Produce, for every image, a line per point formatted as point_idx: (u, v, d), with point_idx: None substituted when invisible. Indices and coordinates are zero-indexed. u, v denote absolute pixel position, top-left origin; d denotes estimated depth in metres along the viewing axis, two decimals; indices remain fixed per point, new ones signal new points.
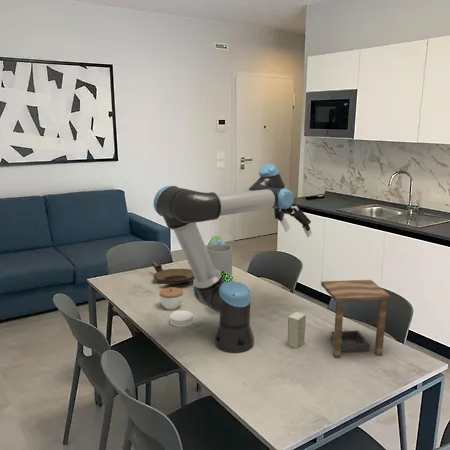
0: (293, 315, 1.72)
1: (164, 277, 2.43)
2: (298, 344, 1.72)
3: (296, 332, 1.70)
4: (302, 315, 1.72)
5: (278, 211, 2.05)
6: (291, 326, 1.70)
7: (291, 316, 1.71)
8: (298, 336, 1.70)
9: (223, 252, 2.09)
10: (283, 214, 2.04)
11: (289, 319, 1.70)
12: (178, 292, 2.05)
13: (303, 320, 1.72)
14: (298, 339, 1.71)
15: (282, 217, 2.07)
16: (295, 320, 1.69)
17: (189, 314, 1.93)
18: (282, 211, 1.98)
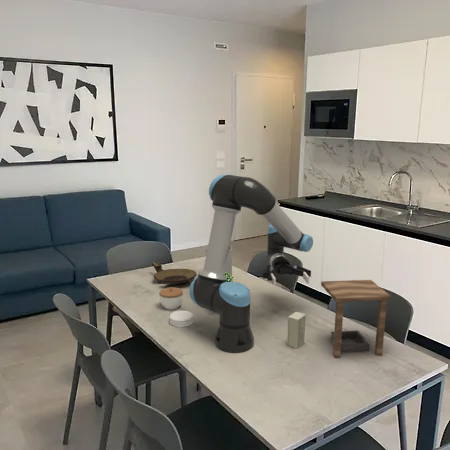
0: (293, 315, 1.72)
1: (164, 277, 2.43)
2: (298, 344, 1.72)
3: (296, 332, 1.70)
4: (302, 315, 1.72)
5: (268, 273, 1.89)
6: (291, 326, 1.70)
7: (291, 316, 1.71)
8: (298, 336, 1.70)
9: None
10: (274, 274, 1.88)
11: (289, 319, 1.70)
12: (178, 292, 2.05)
13: (303, 320, 1.72)
14: (298, 339, 1.71)
15: None
16: (295, 320, 1.69)
17: (189, 314, 1.93)
18: (281, 265, 1.92)
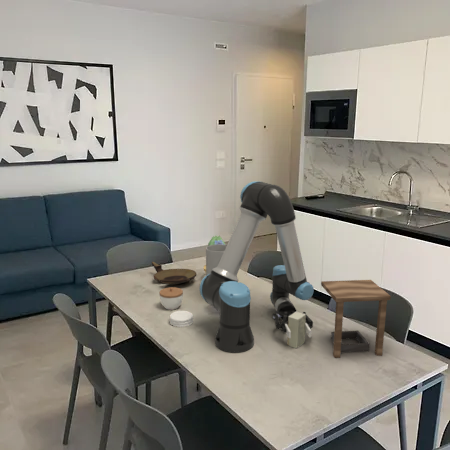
0: (293, 315, 1.72)
1: (164, 277, 2.43)
2: (298, 344, 1.72)
3: (296, 332, 1.70)
4: (302, 315, 1.72)
5: None
6: (291, 326, 1.70)
7: (291, 316, 1.71)
8: (298, 336, 1.70)
9: (223, 252, 2.09)
10: (285, 323, 1.78)
11: (289, 319, 1.70)
12: (178, 292, 2.05)
13: (303, 320, 1.72)
14: (298, 339, 1.71)
15: None
16: (295, 320, 1.69)
17: (189, 314, 1.93)
18: (287, 311, 1.83)
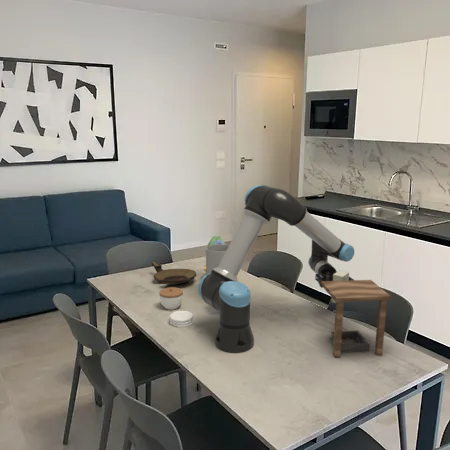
0: (337, 273, 1.81)
1: (164, 277, 2.43)
2: None
3: None
4: (346, 273, 1.81)
5: None
6: None
7: (335, 274, 1.80)
8: None
9: (223, 252, 2.09)
10: None
11: (334, 277, 1.80)
12: (178, 292, 2.05)
13: (347, 278, 1.81)
14: None
15: None
16: (340, 277, 1.78)
17: (189, 314, 1.93)
18: (329, 272, 1.93)
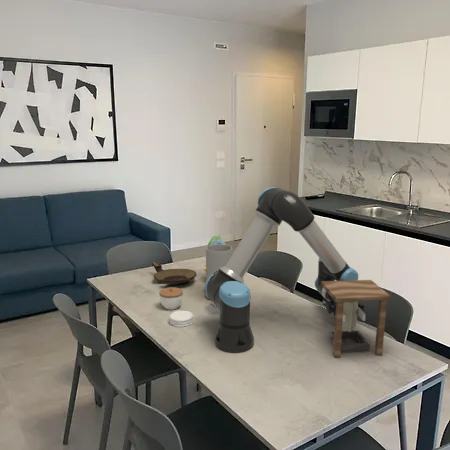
0: None
1: (164, 277, 2.43)
2: (351, 328, 1.74)
3: (350, 316, 1.71)
4: None
5: None
6: (345, 310, 1.72)
7: None
8: (351, 319, 1.72)
9: (223, 252, 2.09)
10: None
11: None
12: (178, 292, 2.05)
13: (356, 304, 1.74)
14: (351, 323, 1.73)
15: None
16: (349, 304, 1.71)
17: (189, 314, 1.93)
18: None
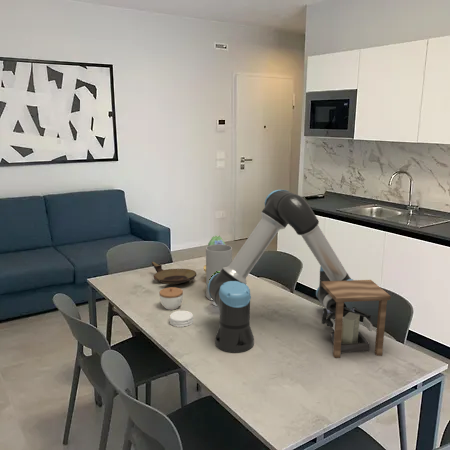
0: (348, 315, 1.71)
1: (164, 277, 2.43)
2: None
3: (351, 333, 1.69)
4: (356, 316, 1.71)
5: (326, 317, 1.79)
6: (346, 326, 1.70)
7: (346, 317, 1.70)
8: (352, 336, 1.70)
9: (223, 252, 2.09)
10: (333, 318, 1.78)
11: (344, 320, 1.70)
12: (178, 292, 2.05)
13: (357, 321, 1.71)
14: (352, 340, 1.70)
15: None
16: (350, 321, 1.68)
17: (189, 314, 1.93)
18: None
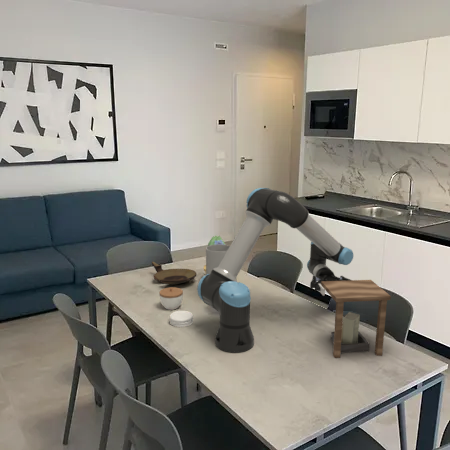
0: (348, 315, 1.71)
1: (164, 277, 2.43)
2: None
3: (351, 333, 1.69)
4: (356, 316, 1.71)
5: (314, 283, 1.91)
6: (346, 326, 1.70)
7: (345, 317, 1.70)
8: (352, 336, 1.70)
9: (223, 252, 2.09)
10: None
11: (344, 320, 1.70)
12: (178, 292, 2.05)
13: (357, 321, 1.71)
14: (352, 340, 1.70)
15: None
16: (350, 321, 1.68)
17: (189, 314, 1.93)
18: (326, 276, 1.95)
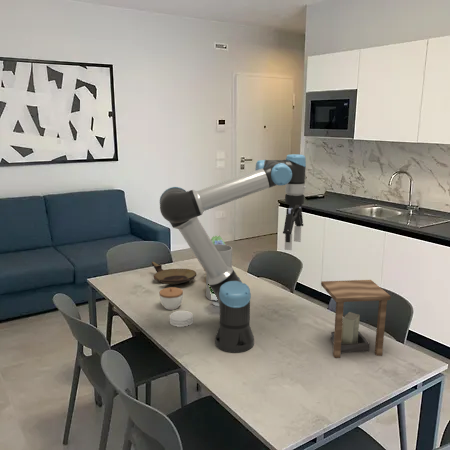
0: (348, 315, 1.71)
1: (164, 277, 2.43)
2: None
3: (351, 333, 1.69)
4: (356, 316, 1.71)
5: None
6: (346, 326, 1.70)
7: (345, 317, 1.70)
8: (352, 336, 1.70)
9: (223, 252, 2.09)
10: (297, 219, 1.85)
11: (344, 320, 1.70)
12: (178, 292, 2.05)
13: (357, 321, 1.71)
14: (352, 340, 1.70)
15: (299, 224, 1.88)
16: (350, 321, 1.68)
17: (189, 314, 1.94)
18: None
